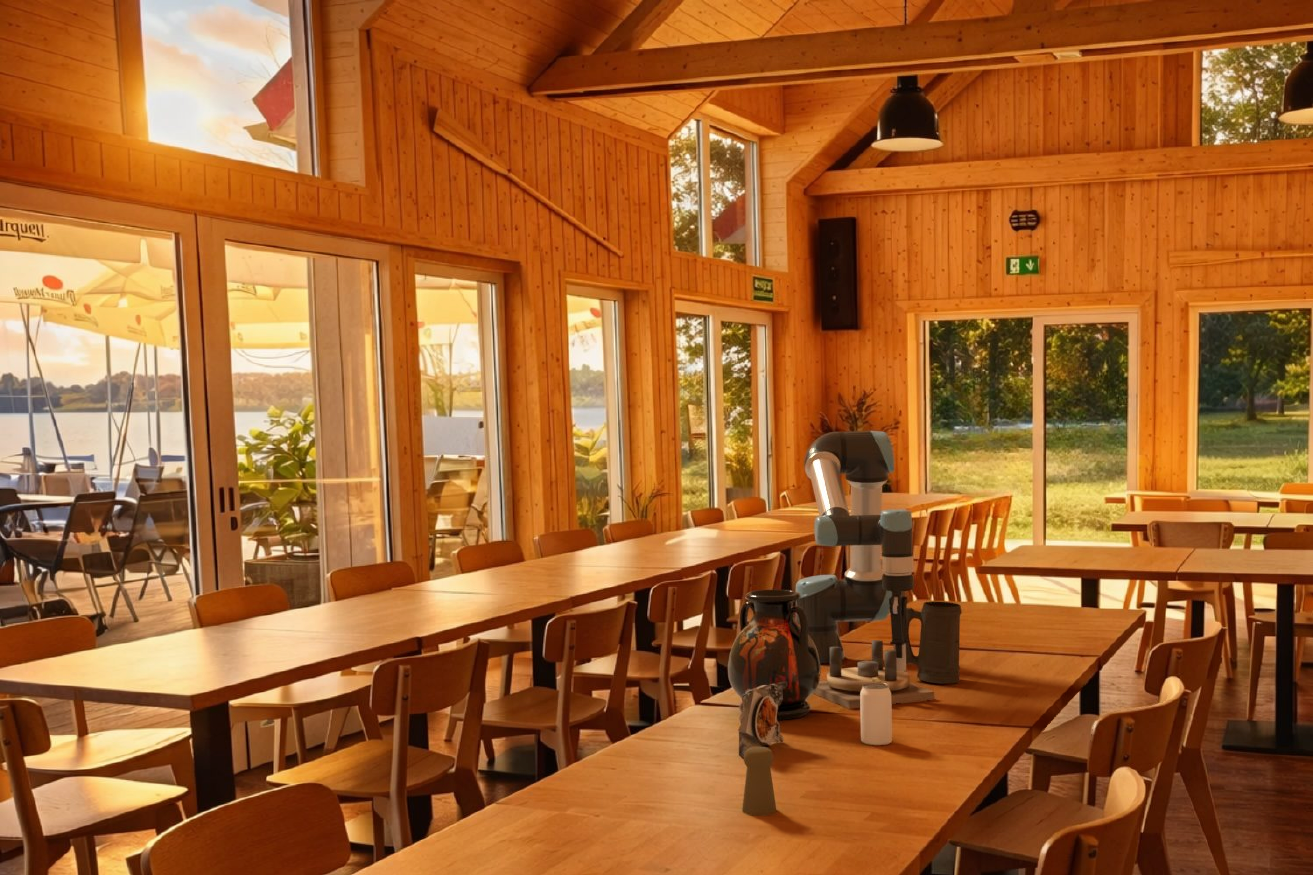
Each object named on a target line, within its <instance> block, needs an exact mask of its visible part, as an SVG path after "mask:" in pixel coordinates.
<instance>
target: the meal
mask: <svg viewBox="0 0 1313 875" xmlns="http://www.w3.org/2000/svg"><path fill="white" fill-rule="evenodd" d="M787 685H788V681H787V682H783V683H777V684H770V685H762V686H759V687H757V688H754V689H748V690H746V693H745V694H743V696H742V698H743V699H742V698H741V702H743V709H742V712H740V713H741V714H740V716H739V717H738V719H739V722H740V725H739V727H738V756H739V757H741V758H743V759H744V752H745V751H746V750H747V749H748V748H750V747H764V746H769V747H770V746H772V743H776V744H777V743H783V742H784V737H783V735H782V734H781V730H780V729H781V728H780V726H781V724H780V723H779V721H778V720H776V719H777V709H778V706H780V704H781V702H782V700H783V693H782V690H783V689H784V688H785V687H786V686H787Z"/></svg>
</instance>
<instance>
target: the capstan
mask: <svg viewBox="0 0 1313 875" xmlns="http://www.w3.org/2000/svg"><path fill="white" fill-rule="evenodd" d="M826 680H827V684H828V685H829V686H831V687H834V688H837V689H842V690H848V691H859V692H861V690H862V687H863V686H862V685H863V684H866V683H884V684H888V685H889V689H890V691H893V690H899V689H903V688H906V687H908V686H909V685H910V683H911V680H910V674H909V673H908V672H906V671H897V659H896V651H894V649H888V650H886V649H885V650H884V641H883V640H881V639H879V640H877V639H876V640H875V639H874V640H871V660H861V661H858V662H857V667H856V666H854V667H845V668H842V661H841V647H830V663H829V672H827V673H826Z"/></svg>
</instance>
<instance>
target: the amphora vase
mask: <svg viewBox="0 0 1313 875" xmlns="http://www.w3.org/2000/svg"><path fill="white" fill-rule="evenodd" d="M800 597H801V595H800V594H799V593H798V592H796V590H795V591H794V590H791V589H790V590H789V589H758V590H753V591H748V592H747V593H746V594H745V596H744V598H745V600H747V601H746V602H744V603H743V604H742V606H741V608H740V613H739V633H738V635H737V636H736V638H735V640H734V641H733V644H732V646H731V650H730V652H729V657H728V663H727V676H728V677H727V678H728V680H729V683H730V686H731V687H732V689H733V691H734V692H735V693H736V694H737V695H738V696H739V698H740V699H741V700H742V699H743V698H742V696H743V694H745V693H746V690H748V689H754V688H757V687H759V686H762V685H770V684H777V683H783V682H787V681H788V685H787V686H786V687H785V688H784V689H783V690H782V693H783V700H782V702H781V704H780V706H778V709H777V719H776V720H777V721H778V720H780V721H783V720H784V721H785V720H792V719H793V720H794V719H798V718H801V717H803V716H806V715H807V714H808V713H809V712H810V711H811V704H810V703H809V702H808V699H809V698H810V697H811V696H812V695H813V692H814V691H815V689H816V688H817V686H818V683H819V681H821V669H822V668H821V664H820V661H819V655H818V652H817V649H816V646H815V644H814V642H813V640H812V638H811V637H810V635H809V634H808V621H807V615H806V613H805V611H804V610H803V609H802V608H801V607H796V606H793V604H794V603H796V601H797V600H798V599H800ZM749 609H751V611H752V612H753V613H752V617H751V619H750V620H749V622H748V612H749ZM796 613H797V614H798V615H799V618H800V624H801V625H800V624H799V623H798V622H797V621H796V617H795V615H796ZM738 708H739V711H740V713H742V709H743V702H742V701H741V702H740V704H739V707H738Z"/></svg>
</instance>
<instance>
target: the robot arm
mask: <svg viewBox="0 0 1313 875" xmlns="http://www.w3.org/2000/svg"><path fill="white" fill-rule="evenodd" d="M892 445H893V444H892V441H891V438H890V437H889V435H888V434H887V433H886V431H881V430H880V431H877V430H860V431H859V430H858V431H854V430H853V431H832V432H827V433H825V434H822V435H821V436H820V437H819V436H818V438H816V439H815V440H814V441H813V442H812V443H811V445H810V446H809V447H808V449H807V450H806V453H805V456H804V458H803V459H804V460H803V464H804V465H803V466H804V470H805V474H806V476H807V477H808V479H810V480H811V485H812V488H813V494H814V498H815V502H816V505H817V506H816V507H817V510H818V514H819V516H816V517H815V519H814V527H813V529H814V531H813V532H814V540H815V542H816V545H818V546H823V547H825V546H827V547H830V548H831V547H833V548H834V547H844V546H845V547H846V546H847V547H850V549H849V552H850V554H849V568H848V569H847V570H846V571H845V572H844V579H838V577H837V576H836V575H835V574H819V575H812V576H808V577H804V578H802V579H799V580H798V581H797V582H796V584H795V592H798V593H799V594H800V595H801V597H800V599H798V600H797V601H795V607H801V608H802V609H803V610H804V611H805V613H806V615H807V621H808V634H809V635H810V637H811V638H812V640H813V642H814V644H815V646H816V649H817V652H818V655H819V661H820V665H821V664H822V663H823V664H830V647H841V662H842V661H844V660H845V651H844V647H843V643H842V641H841V639H840V635H839V631H838V630H839V629H838V622H870V623H871V622H874V621H876V622H877V621H883V620H885V619H887V618H888V615H889V614H890V625H891V626H890V627H891V640H890V643H889V644H890V645H892V646H893V650H894V651H896V659H897V671H903V672H906V671H907V664H906V644H904V643H908V642H909V640H910V639H909V640H906V637H907V635H906V613H907V608H908V606H907V605H908V596H906V593H905V592H908V591H909V592H910V591H912V590H914V588H915V587H914V586H915V582H914V579H915V578H914V574H912V573H913V572H914V554H913V553H914V552H913V551H914V550H913V548H914V547H913V546H914V545H913V527H914V522H913V517H912V512H911V511H910V510H909V509H904V508H903V509H902V508H899V509H898V508H897V509H896V508H894V509H893V508H892V509H890V508H889V509H884V510H882V509H883V485H885V484H886V483H887V481H888V479H889V474H892V473H894V471H895V458H894V457H895V456H894V449H893V446H892ZM840 475H844V476H845V481H846V482H847V483H848V484H849V485H850V510H849V507H848V502H847V500H846V495H845V494H846V493H845V492H844V487H843V484H842V480H841V477H840ZM795 619H796V621H797V622H798V623H799V624H800V618H799V615H798V614H797V613H796V612H795ZM800 625H801V624H800Z"/></svg>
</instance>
